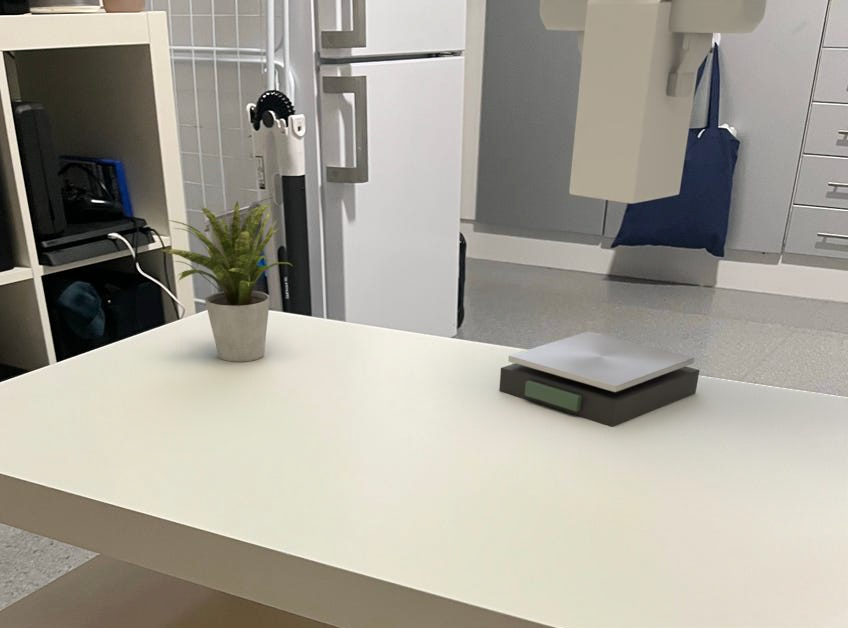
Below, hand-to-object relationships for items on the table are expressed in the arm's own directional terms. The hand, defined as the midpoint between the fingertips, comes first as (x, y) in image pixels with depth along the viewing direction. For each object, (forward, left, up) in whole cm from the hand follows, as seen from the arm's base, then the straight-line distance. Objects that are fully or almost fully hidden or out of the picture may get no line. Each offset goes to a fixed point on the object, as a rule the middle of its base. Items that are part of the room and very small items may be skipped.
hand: (635, 93), depth 88 cm
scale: (0, 0, -27) cm, 27 cm away
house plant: (+18, -36, -27) cm, 49 cm away
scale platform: (0, 0, -24) cm, 24 cm away
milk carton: (0, 0, -8) cm, 8 cm away
